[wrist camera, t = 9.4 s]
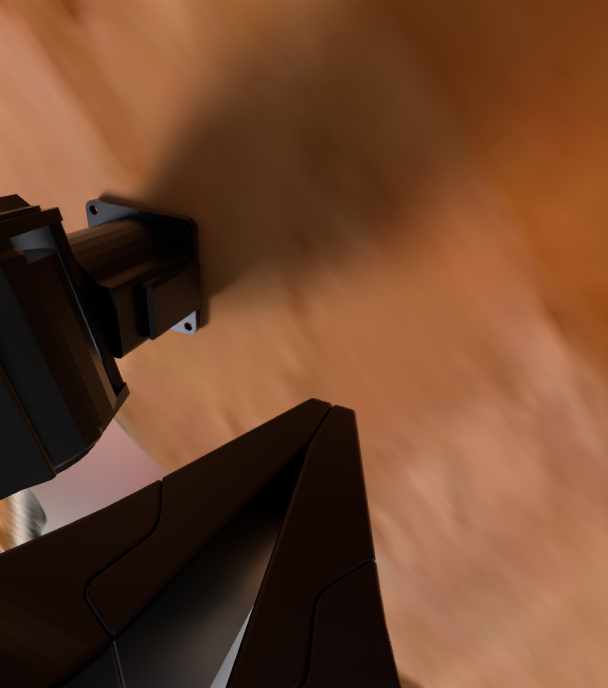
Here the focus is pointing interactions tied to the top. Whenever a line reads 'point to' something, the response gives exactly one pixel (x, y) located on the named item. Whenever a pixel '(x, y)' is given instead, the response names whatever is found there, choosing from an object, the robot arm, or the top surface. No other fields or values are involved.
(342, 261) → the top surface
